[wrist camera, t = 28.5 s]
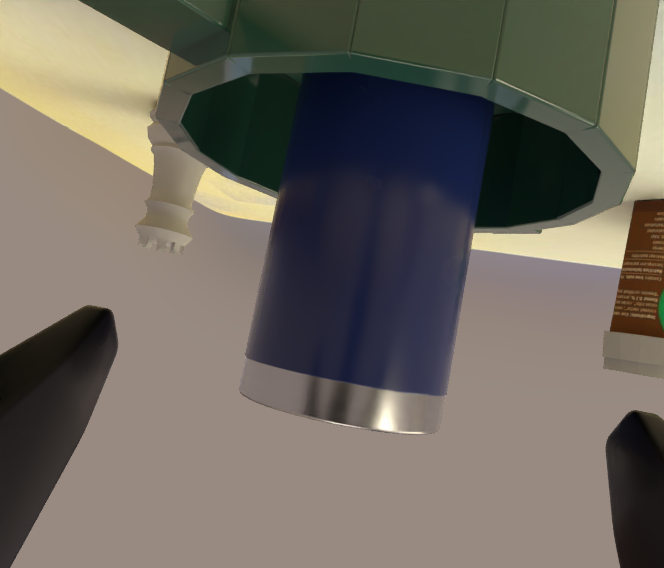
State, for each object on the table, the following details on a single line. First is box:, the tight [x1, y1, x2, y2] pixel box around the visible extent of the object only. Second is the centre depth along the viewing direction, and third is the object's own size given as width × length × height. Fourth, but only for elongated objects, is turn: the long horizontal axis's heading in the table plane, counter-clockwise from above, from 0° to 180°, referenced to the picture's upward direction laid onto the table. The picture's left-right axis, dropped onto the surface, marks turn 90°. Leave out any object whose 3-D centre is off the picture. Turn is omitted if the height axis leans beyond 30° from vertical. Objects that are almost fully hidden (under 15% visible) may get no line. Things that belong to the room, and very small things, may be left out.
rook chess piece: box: [135, 107, 208, 254], centre depth 31 cm, size 4×4×8 cm
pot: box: [79, 0, 659, 234], centre depth 18 cm, size 15×20×6 cm
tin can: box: [239, 72, 495, 435], centre depth 18 cm, size 6×6×13 cm
